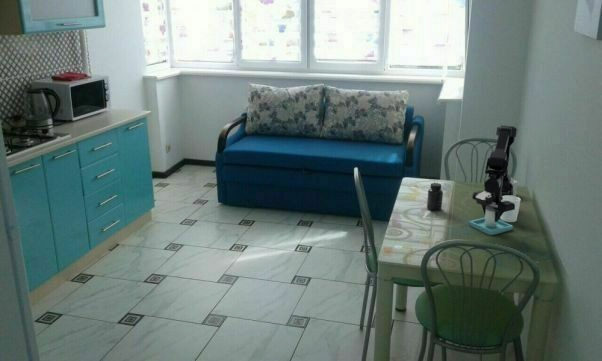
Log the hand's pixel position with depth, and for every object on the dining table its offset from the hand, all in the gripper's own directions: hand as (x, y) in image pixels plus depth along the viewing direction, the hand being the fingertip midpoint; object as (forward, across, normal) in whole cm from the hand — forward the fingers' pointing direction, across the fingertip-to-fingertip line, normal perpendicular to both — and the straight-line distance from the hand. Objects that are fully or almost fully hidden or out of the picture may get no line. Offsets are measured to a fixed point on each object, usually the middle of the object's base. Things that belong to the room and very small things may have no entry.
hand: (491, 219), depth 236 cm
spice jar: (+2, 0, 0) cm, 2 cm away
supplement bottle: (+4, -29, -6) cm, 30 cm away
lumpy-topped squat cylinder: (+4, -29, +38) cm, 48 cm away
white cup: (+4, -3, +14) cm, 15 cm away
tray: (+4, 0, 0) cm, 4 cm away
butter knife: (+4, -21, -19) cm, 29 cm away
